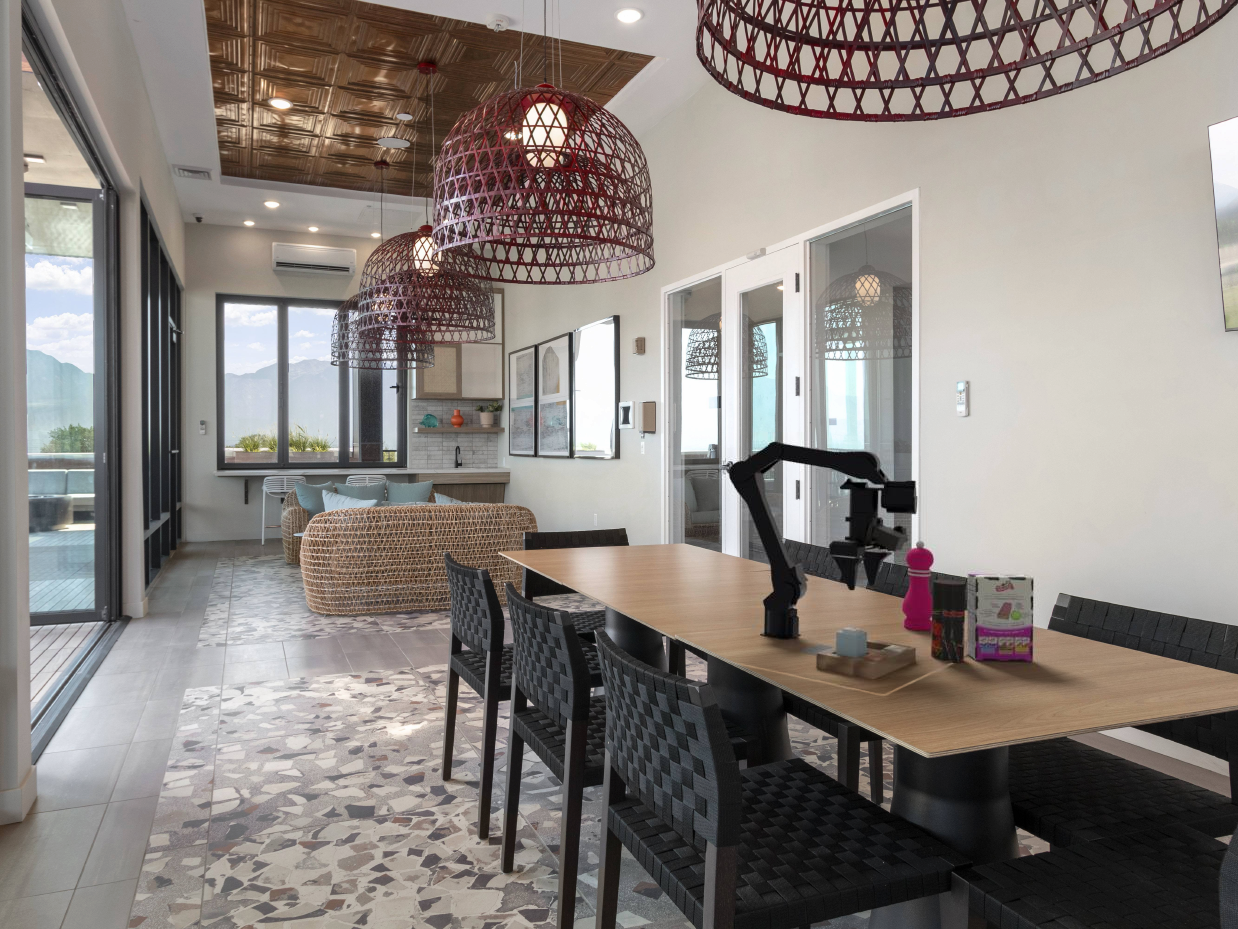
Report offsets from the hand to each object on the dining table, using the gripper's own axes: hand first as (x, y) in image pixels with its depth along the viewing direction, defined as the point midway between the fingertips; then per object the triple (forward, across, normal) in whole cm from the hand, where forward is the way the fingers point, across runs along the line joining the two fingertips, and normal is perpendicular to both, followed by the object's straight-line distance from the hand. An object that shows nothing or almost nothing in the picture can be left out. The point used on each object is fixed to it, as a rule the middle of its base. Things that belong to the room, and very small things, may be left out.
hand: (862, 587), depth 171 cm
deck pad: (+12, -11, +1) cm, 16 cm away
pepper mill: (+12, +27, -1) cm, 30 cm away
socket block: (+12, -15, -8) cm, 21 cm away
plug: (+12, -20, -8) cm, 24 cm away
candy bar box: (+12, +10, -24) cm, 29 cm away
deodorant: (+12, +2, -17) cm, 21 cm away
